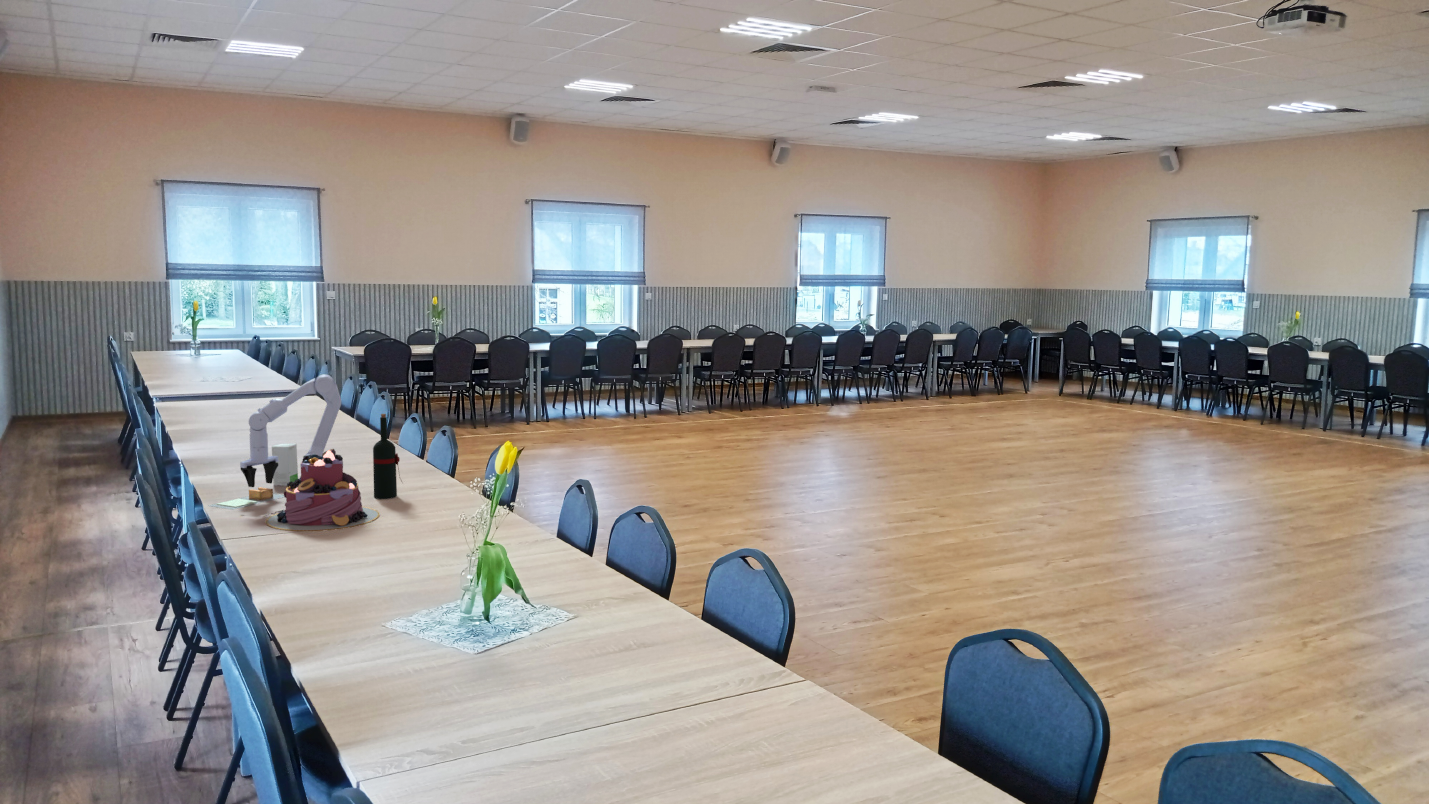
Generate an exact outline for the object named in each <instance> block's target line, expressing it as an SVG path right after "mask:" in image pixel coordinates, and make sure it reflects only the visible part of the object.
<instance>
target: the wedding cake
mask: <svg viewBox="0 0 1429 804" xmlns="http://www.w3.org/2000/svg"><path fill="white" fill-rule="evenodd" d="M305 455H306V454H305ZM305 455H303V456H302V457H303V458H302V461H301V462H300V476H299V478H298V479H297V480H295V481H294V482H292V481H291V482H288V483H287V486H286V488H285V491H284V492H283V495H284V497H283V498H285V499H286V502H285V503H284V506H285V509H284V510H281V511H280V512H278V513H275V514H272V515H270V516H268V517H267V518H266V519H265V524H266V526H268V527H270V528H273V529H275V530H279V531H290V532H324V531H323V530H327V531H334V530H335V529H337V530H343V528H344V529H349V528H348V527H350V528H355V527H359V525H360V526H363V525H367V524H369V523H371V521H372V522H374V521H376V520H377V519H379V517H380V516H381V515H380V511H378V510H377V509H374V508H373V507H367V506H363V503H362V496H361V494H362V493H361V492H360V490H359V483H358V481H357V479H356V478H355V477H354V476H352V475H351V474H348V473H346V472H344V461H343V456H342V455H341V454H337V453H336V450H335V448H330V449H329V450H327V451H324V452H323V454H322V455H320V456H318V455H317V454H312V455H306V456H305ZM290 484H291V485H290ZM366 523H367V524H366Z"/></svg>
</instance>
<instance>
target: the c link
mask: <svg viewBox="0 0 1429 804" xmlns="http://www.w3.org/2000/svg"><path fill="white" fill-rule="evenodd" d="M273 494H274V489H273V488H268V487H261V486H260V487H258V488H257V489H248V496H249V498H250V499H257V500H264V499H268V498H272V497H273Z"/></svg>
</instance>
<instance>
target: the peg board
mask: <svg viewBox="0 0 1429 804" xmlns="http://www.w3.org/2000/svg"><path fill="white" fill-rule="evenodd" d="M282 498H285V497H284V494H280V493H273V497H272V498H268V499H264V500H257V499H250V498H249V495H247V496H242V497H239V498H233V499H230V500H226V501H221V502H217V503H213V504H207V507H212V508H213V507H214V508H219V509H220V508H221V509H226V510H237V509H241V508H246V507H250V506H254V505H259V504H261V503H266V502H271V501H275V500H278V499H282Z"/></svg>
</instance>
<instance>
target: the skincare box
mask: <svg viewBox="0 0 1429 804" xmlns="http://www.w3.org/2000/svg"><path fill="white" fill-rule="evenodd" d="M297 446H298V445H297V443H279V444H275V445H273V446H271V456H278V462H276V463H278V467H277V469H276V471H275V473H274V476H273V480H272V484H273V486H279V487H281V486H282V487H283V486H286V487H288V486H287V483H288V482H291V481H292V482H294V481H295V480H297V479H299V469H298V448H297ZM290 485H291V484H290Z"/></svg>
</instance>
